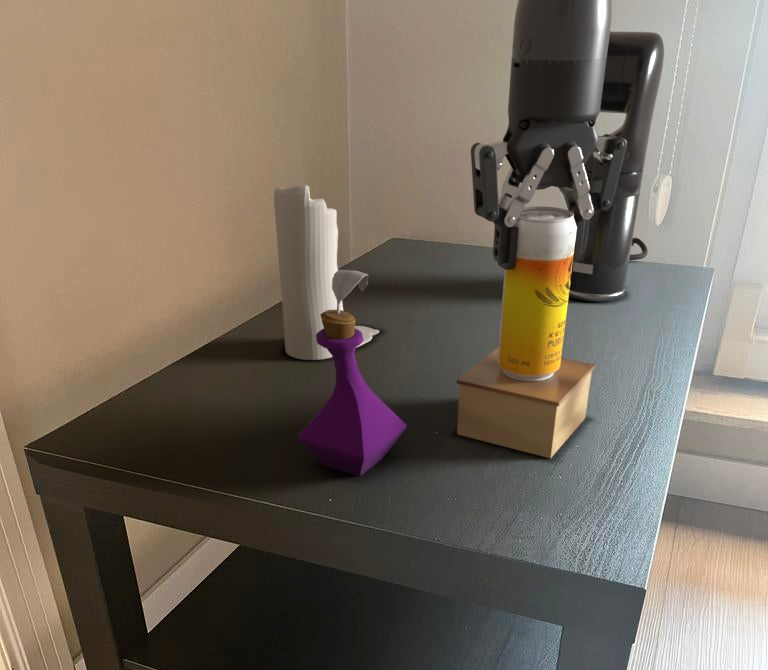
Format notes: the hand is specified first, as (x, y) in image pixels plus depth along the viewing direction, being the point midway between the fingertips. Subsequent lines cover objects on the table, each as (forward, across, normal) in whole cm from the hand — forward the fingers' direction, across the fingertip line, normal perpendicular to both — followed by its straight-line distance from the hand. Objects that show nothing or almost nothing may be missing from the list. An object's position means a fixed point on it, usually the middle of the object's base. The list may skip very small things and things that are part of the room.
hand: (538, 262), depth 73 cm
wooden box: (+17, 0, 0) cm, 17 cm away
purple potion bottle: (+17, +19, +1) cm, 25 cm away
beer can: (+11, 0, 0) cm, 11 cm away
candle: (+17, +12, -29) cm, 36 cm away
